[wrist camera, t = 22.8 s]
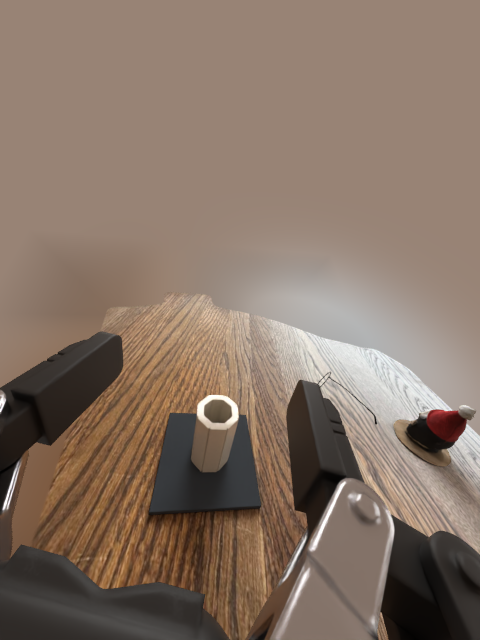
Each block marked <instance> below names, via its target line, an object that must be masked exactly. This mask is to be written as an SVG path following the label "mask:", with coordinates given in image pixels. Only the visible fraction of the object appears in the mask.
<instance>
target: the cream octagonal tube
mask: <svg viewBox="0 0 480 640" xmlns="http://www.w3.org/2000/svg"><path fill="white" fill-rule="evenodd" d="M238 420H239V414H238V406H237V405H236V403H234V402H233V401H232V400H231V399H229V398H228V397H227V396H224V395H211V396H210V395H209V396H207V397H206V398H205V399H203V400H202V401H200V402H199V404H198V406H197V413H196V421H195V428H194V436H193V443H192V452H191V461H192V462H193V463H194V465H195V466H196V467H197V468H198V469H199V470H200V471H202V472H217V471H219V470H220V469H221V468H222V467H223V465H224V464H225V463H226V462H227V461H228V458H229V454H230V450H231V446H232V442H233V439H234V435H235V431H236V427H237V424H238Z"/></svg>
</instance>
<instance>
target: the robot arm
mask: <svg viewBox="0 0 480 640" xmlns="http://www.w3.org/2000/svg"><path fill="white" fill-rule="evenodd" d="M122 368H123V351H122V339H121V337H120V336H119V335H115V334H111V333H107V332H98V333H97V334H95V335H94V336H92V337H91V338H89V339H87V340H83V341H80V342H77V343H74V344H72V345H69V346H68V347H66V348H65V349H63V350H61V351H59V352H58V354H55V355H53V356H51V357H50V358H48V359H47V361H43V362H41V363H40V364H38V365H37V366H35V367H33V368H32V369H30V370H29V371H27V372H25V373H24V374H22V375H20V376H19V377H17V378H16V379H14V380H12V381H11V382H9V383H7V384H6V385H4V386H2V387H1V388H0V640H230V639H229V638H228V636H227V635H226V633H225V632H224V630H223V629H222V627H221V626H220V625H219V623H218V622H217V621H216V620H215V619H214V618H213V617H212V615H211V614H209V613H208V612H207V611H206V610H205V609H203V604H204V598H205V594H201V593H197V592H194V591H190V590H186V589H183V588H179V587H175V586H172V585H168V584H164V583H161V582H156V583H149V584H142V585H135V586H128V587H121V588H114V589H102V588H100V587H99V586H98V585H96V584H95V583H94V582H93V581H92V580H91V579H90V578H89V577H88V576H86V575H85V574H84V573H83V572H82V571H81V570H80V569H79V568H78V567H76V566H75V565H74V564H73V563H72V562H71V561H70V560H69V559H68V558H66V557H65V556H61V555H58V554H54V553H50V552H47V551H43V550H39V549H36V548H32V547H28V546H24V545H21V546H20V547H19V548H18V549H17V551H16V552H15V553H14V555H13V556H12V557H11V558H10V556H11V550H12V517H13V513H14V509H15V505H16V502H17V498H18V494H19V490H20V486H21V483H22V478H23V475H24V471H25V468H26V464H27V460H28V456H29V451H28V449H29V448H30V447H31V446H32V445H33V444H35V443H36V442H38V443H42V444H46V445H50V446H51V445H52V443H54V442H55V441H56V439H57V438H58V437H59V436H60V435H61V434H62V433H63V432H64V431H65V430H66V429H67V428H68V427H69V426H70V425H71V424H72V423H73V422H74V421H75V420H76V419H77V418H78V417H79V416H80V415H81V414H82V413H83V412H84V411H85V410H86V409H87V408H88V407H89V406H90V405H91V404H92V403H93V402H94V401H95V400H96V399H97V398H98V397H99V396H100V395H101V394H102V392H103V391H104V390H105V389H106V388H107V387H108V386H109V385H110V384H111V383H112V382H113V381H114V380H115V379H116V378H117V377H118V376H119V374H120V373H121V371H122ZM286 419H287V430H288V441H289V452H290V463H291V474H292V484H293V495H294V506H295V510H296V511H300V512H304V513H306V516H307V524H308V526H307V527H306V528H305V530H304V532H303V534H302V536H301V538H300V540H299V542H298V544H297V546H296V548H295V550H294V551H293V553H292V555H291V557H290V559H289V561H288V563H287V565H286V567H285V569H284V571H283V573H282V574H281V576H280V578H279V580H278V582H277V584H276V586H275V588H274V590H273V591H272V593H271V595H270V597H269V598H268V600H267V601H266V603H265V605H264V606H263V608H262V610H261V611H260V613H259V615H258V617H257V618H256V620H255V622H254V624H253V626H252V628H251V630H250V632H249V633H248V635H247V637H246V639H245V640H378V634H377V629H378V621H379V615H380V612H382V615H383V619H384V623H385V627H386V631H387V635H388V639H389V640H480V555H479V554H478V553H477V552H476V551H475V550H474V549H473V548H472V547H471V546H469V545H468V544H467V543H466V542H464V541H463V540H462V539H460V538H459V537H457V536H455V535H453V534H451V533H449V532H445V531H438V532H436V533H434V534H433V535H431V536H430V537H427V536H426V535H424V534H422V533H421V532H419V531H417V530H416V529H414V528H412V527H411V526H409V525H407V524H406V523H404V522H402V521H401V520H399V519H397V518H396V517H394V516H393V515H391V514H390V512H389V510H388V508H387V507H386V505H385V503H384V502H383V500H382V499H381V498H380V497H379V495H378V494H377V493H376V492H375V491H374V490H373V489H372V488H370V487H369V486H368V485H366V484H365V483H364V480H363V478H362V475H361V472H360V470H359V467H358V464H357V462H356V459H355V456H354V453H353V451H352V448H351V445H350V443H349V440H348V437H347V436H346V432H345V429H344V426H343V425H342V421H341V418H340V415H339V413H338V410H337V409H336V408H335V406H334V405H333V404H332V403H331V401H330V400H329V399H326V398H323V396H322V393H321V390H320V387H319V385H318V384H316V383H312V382H308V381H304V380H299V381H298V383H297V386H296V388H295V390H294V393H293V395H292V397H291V400H290V402H289V405H288V408H287V416H286Z"/></svg>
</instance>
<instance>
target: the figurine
mask: <svg viewBox="0 0 480 640" xmlns="http://www.w3.org/2000/svg"><path fill="white" fill-rule="evenodd" d="M475 413H476V410H475V409H472V408H470V407H468V406H460V407H459V410H458V411H444V410H431V411H427V412H423V413H419V418H418V419H417V420H413V421H407V420H397V421H396V422H395V423H394V429H395V430H394V431H395V433H396V435H397V437H398V438H399V439H400V441H401V442H403V443H404V444H405V445H406V446H407V447H408V448H409V449H410V450H411V452H414V453H415V454H416V455H417V456H419V457H420V458H422V459H423V460H425V461H427V462H429V463H431V464H434V465H437V466H448V465H449V464H450V462H451V459H450V455H449V452H448V451H447V448H450V447H452V446H453V445H454V443H455V441H457V440H458V437H459V436H460V435H461V434H462V433H463V432H464V430H465V428H466V421H467V419H468V420H471V419H472V417H474V414H475Z"/></svg>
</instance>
